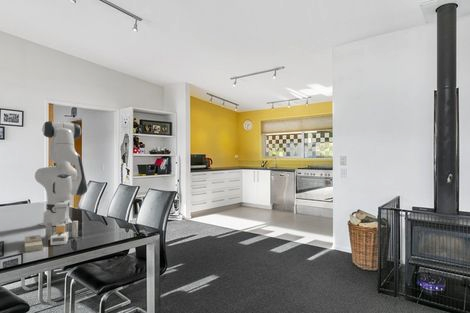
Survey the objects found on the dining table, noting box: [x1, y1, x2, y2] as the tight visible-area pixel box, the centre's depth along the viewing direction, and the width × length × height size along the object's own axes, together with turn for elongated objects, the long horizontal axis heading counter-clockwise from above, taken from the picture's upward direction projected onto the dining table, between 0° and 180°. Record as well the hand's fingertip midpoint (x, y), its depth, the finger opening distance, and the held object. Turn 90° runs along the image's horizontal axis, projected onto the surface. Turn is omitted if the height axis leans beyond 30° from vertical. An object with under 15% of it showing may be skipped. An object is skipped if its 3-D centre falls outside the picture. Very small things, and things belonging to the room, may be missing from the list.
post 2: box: [71, 220, 79, 239], centre depth 174 cm, size 3×3×9 cm
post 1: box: [45, 223, 53, 241], centre depth 169 cm, size 3×3×9 cm
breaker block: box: [49, 230, 70, 246], centre depth 164 cm, size 12×7×4 cm, turn 23°
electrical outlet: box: [24, 234, 44, 253], centre depth 155 cm, size 7×4×18 cm
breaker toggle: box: [55, 224, 66, 233], centre depth 167 cm, size 2×4×4 cm, turn 113°
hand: (63, 226), depth 176 cm, fingers open, 8 cm apart
